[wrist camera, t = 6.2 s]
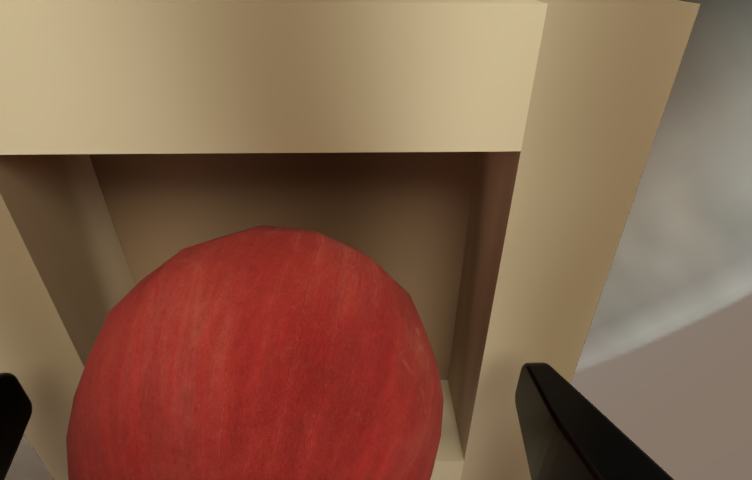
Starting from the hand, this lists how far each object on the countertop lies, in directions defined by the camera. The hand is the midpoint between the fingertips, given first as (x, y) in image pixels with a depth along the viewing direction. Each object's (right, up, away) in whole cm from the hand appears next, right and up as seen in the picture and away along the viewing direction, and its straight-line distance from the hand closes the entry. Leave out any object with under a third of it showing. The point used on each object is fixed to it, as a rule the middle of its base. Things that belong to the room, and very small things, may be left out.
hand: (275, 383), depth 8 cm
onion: (0, +2, +3) cm, 4 cm away
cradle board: (0, +3, +4) cm, 5 cm away
